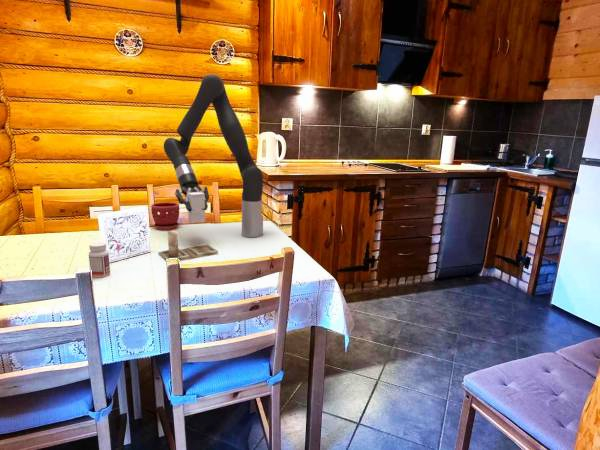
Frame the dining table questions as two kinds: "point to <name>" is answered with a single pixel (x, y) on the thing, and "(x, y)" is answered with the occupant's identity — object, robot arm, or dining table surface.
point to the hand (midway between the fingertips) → (198, 209)
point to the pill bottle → (99, 259)
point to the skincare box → (197, 207)
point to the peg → (173, 243)
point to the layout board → (191, 252)
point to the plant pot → (165, 215)
